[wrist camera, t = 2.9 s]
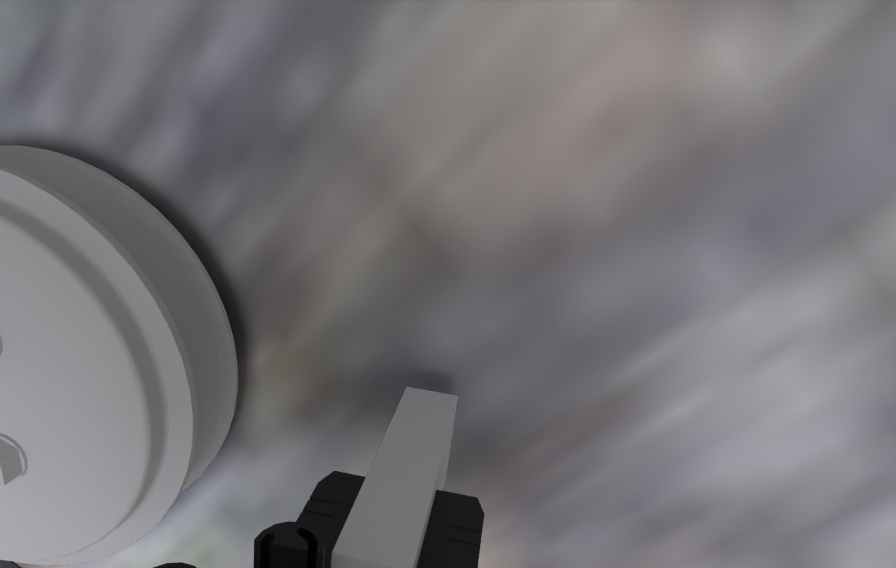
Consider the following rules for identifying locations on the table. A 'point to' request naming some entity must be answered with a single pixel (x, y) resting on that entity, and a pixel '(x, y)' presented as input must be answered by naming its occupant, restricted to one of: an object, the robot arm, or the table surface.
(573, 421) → the table surface
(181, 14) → the table surface
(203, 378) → the grey pulley wheel
